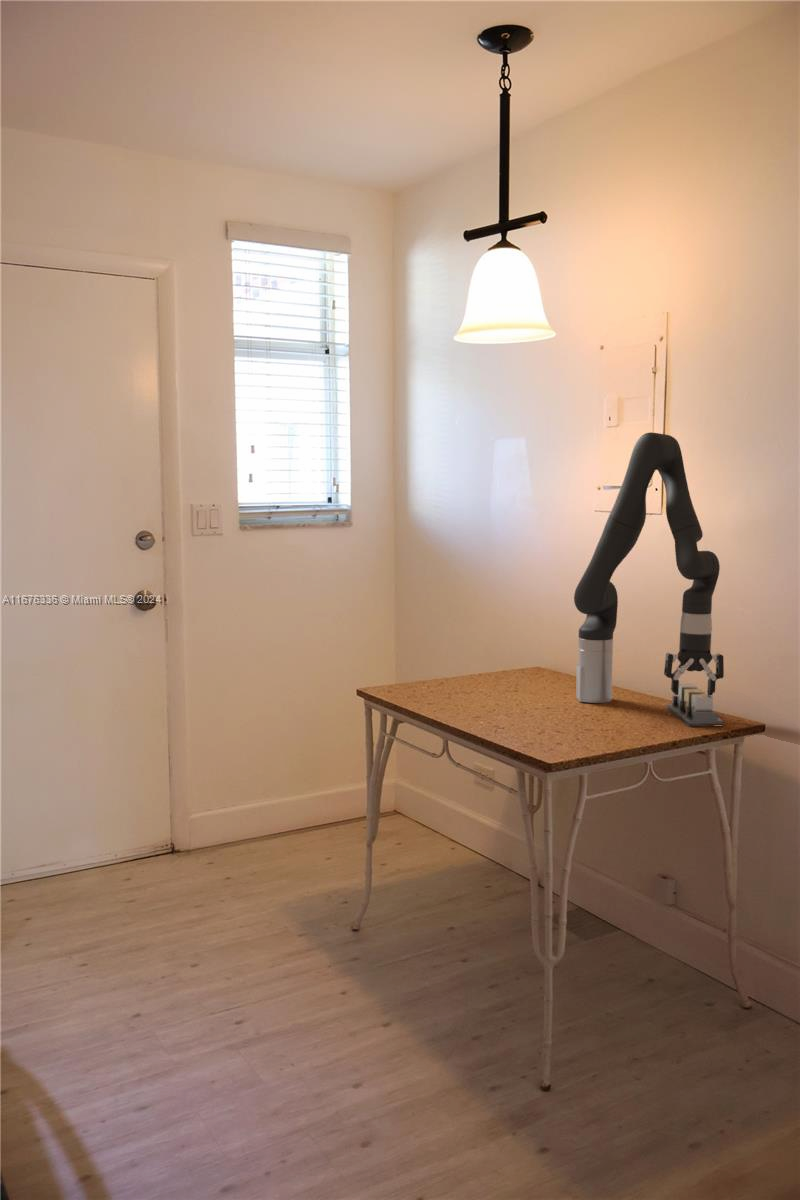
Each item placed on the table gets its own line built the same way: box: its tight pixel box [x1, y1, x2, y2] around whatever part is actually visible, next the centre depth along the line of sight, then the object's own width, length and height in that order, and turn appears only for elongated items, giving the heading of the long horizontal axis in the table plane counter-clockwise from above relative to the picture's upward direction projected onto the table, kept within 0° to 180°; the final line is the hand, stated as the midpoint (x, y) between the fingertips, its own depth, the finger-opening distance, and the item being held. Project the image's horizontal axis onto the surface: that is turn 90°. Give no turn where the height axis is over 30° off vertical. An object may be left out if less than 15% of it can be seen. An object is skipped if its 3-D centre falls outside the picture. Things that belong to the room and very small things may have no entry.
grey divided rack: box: [666, 683, 724, 728], centre depth 249 cm, size 8×21×7 cm, turn 179°
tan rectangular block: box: [684, 688, 706, 714], centre depth 249 cm, size 4×4×6 cm
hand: (692, 694), depth 249 cm, fingers open, 8 cm apart
